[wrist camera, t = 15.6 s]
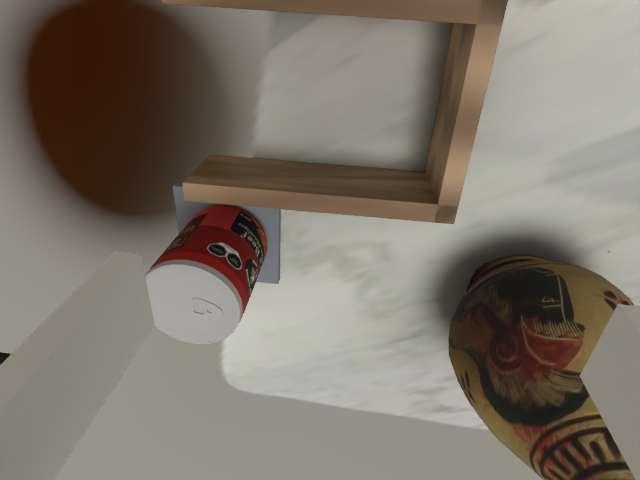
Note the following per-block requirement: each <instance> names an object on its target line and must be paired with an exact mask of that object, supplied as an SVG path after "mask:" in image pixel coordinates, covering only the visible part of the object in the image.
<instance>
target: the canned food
mask: <svg viewBox="0 0 640 480" xmlns="http://www.w3.org/2000/svg"><path fill="white" fill-rule="evenodd" d="M266 254H267V239H266V235H265V232H264V229H263V228H262V226H261V224H260V223H259V222H258V221H257V220H256V219H255V217H253V216H252V215H251V214H249V213H248V212H246V211H244V210H242V209H240V208H237V207H234V206H229V205H217V206H212V207H209V208H206V209H204V210H201V211H200V212H198V213H197V214H196V215H195V216H194V217H193V218H192V219H191V220H190V221H189V223H188V224H187V225H186V226H185V227H184V229H183V230H182V231H181V232H180V233H179V235H178V236H177V237H176V238H175V239H174V241H173V242H172V243H171V244H170V245H169V247H168V248H167V249H166V250H165V251H164V253H163V254H162V255H161V256H160V257H159V258H158V260H157V261H156V262H155V263H154V264H153V266H152V267H151V268H150V270H149V271H148V272H147V273H146V275H145V278H146V283H147V288H148V293H149V298H150V303H151V308H152V312H153V317H154V322H155V327H156V328H157V329H159V330H160V331H162V332H163V333H165V334H166V335H168V336H170V337H172V338H174V339H177V340H180V341H183V342H187V343H193V344H209V343H214V342H218V341H221V340H223V339H225V338H227V337H228V336H229V335H230V334H232V333H233V332H234V330H235V329H236V327H237V326H238V324H239V322H240V320H241V318H242V315H243V313H244V311H245V309H246V306H247V303H248V301H249V298H250V296H251V293H252V290H253V288H254V285H255V283H256V280H257V278H258V275H259V272H260V270H261V267H262V265H263V262H264V260H265V257H266Z"/></svg>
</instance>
